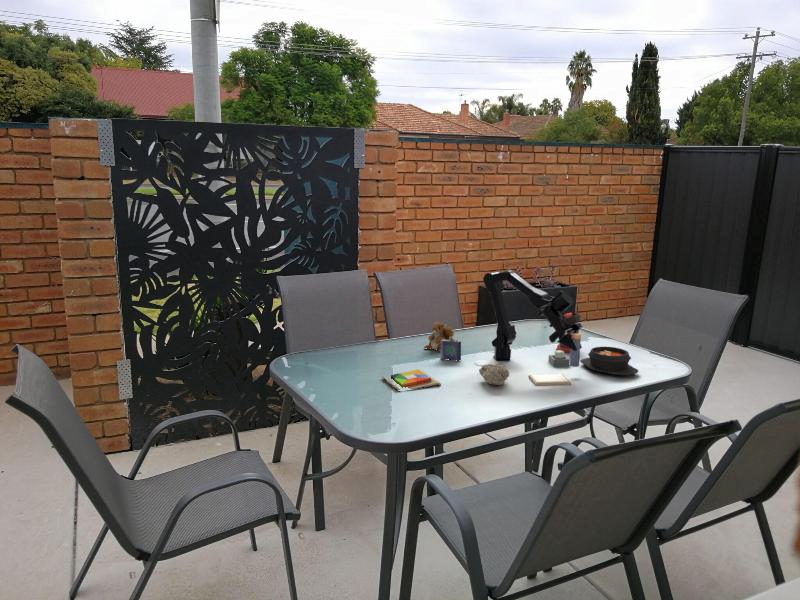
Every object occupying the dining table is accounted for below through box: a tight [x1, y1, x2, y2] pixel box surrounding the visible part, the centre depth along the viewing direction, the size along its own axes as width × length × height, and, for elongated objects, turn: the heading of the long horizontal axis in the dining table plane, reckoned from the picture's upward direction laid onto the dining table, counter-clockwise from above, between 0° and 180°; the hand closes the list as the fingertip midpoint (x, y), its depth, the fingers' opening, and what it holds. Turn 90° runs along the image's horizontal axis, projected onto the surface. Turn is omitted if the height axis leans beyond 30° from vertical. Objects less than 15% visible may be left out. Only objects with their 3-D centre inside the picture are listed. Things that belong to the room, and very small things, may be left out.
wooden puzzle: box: [381, 368, 442, 391], centre depth 236 cm, size 18×19×4 cm
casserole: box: [579, 346, 639, 376], centre depth 251 cm, size 25×19×8 cm
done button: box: [553, 349, 565, 359], centre depth 259 cm, size 4×4×4 cm
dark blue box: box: [440, 336, 462, 362], centre depth 265 cm, size 9×3×11 cm, turn 71°
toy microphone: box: [569, 333, 582, 368], centre depth 242 cm, size 4×4×13 cm
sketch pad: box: [528, 373, 572, 386], centre depth 238 cm, size 14×10×1 cm
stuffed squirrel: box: [423, 321, 455, 352], centre depth 283 cm, size 10×14×13 cm
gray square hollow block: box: [547, 354, 570, 367], centre depth 260 cm, size 7×7×3 cm
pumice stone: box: [478, 363, 510, 386], centre depth 233 cm, size 14×12×8 cm
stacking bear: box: [555, 311, 580, 354], centre depth 280 cm, size 11×10×18 cm
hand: (578, 349), depth 241 cm, fingers closed on toy microphone, 4 cm apart
